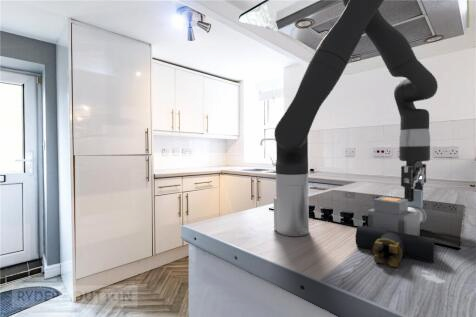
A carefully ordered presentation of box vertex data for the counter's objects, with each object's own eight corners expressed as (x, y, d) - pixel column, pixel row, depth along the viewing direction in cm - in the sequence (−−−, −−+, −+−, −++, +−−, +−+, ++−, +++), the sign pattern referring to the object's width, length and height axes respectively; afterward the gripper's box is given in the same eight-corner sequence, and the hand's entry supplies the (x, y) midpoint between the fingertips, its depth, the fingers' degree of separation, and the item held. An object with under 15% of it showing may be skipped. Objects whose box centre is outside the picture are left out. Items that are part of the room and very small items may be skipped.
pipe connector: (431, 250, 47) (347, 234, 56) (431, 279, 47) (347, 257, 56) (434, 235, 55) (361, 223, 65) (434, 259, 55) (361, 243, 65)
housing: (368, 240, 66) (368, 199, 65) (385, 231, 73) (385, 193, 72) (403, 250, 59) (404, 204, 59) (419, 238, 66) (419, 197, 66)
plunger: (380, 210, 64) (380, 199, 64) (385, 207, 67) (385, 197, 67) (395, 212, 62) (395, 201, 62) (401, 210, 64) (401, 199, 64)
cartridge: (388, 230, 71) (388, 193, 71) (403, 222, 78) (403, 188, 78) (413, 235, 67) (413, 195, 66) (426, 226, 74) (426, 190, 73)
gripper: (421, 144, 67) (421, 205, 68) (436, 144, 76) (436, 197, 77) (391, 145, 73) (390, 201, 74) (408, 145, 82) (407, 194, 83)
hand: (413, 199), depth 75 cm, fingers open, 8 cm apart
